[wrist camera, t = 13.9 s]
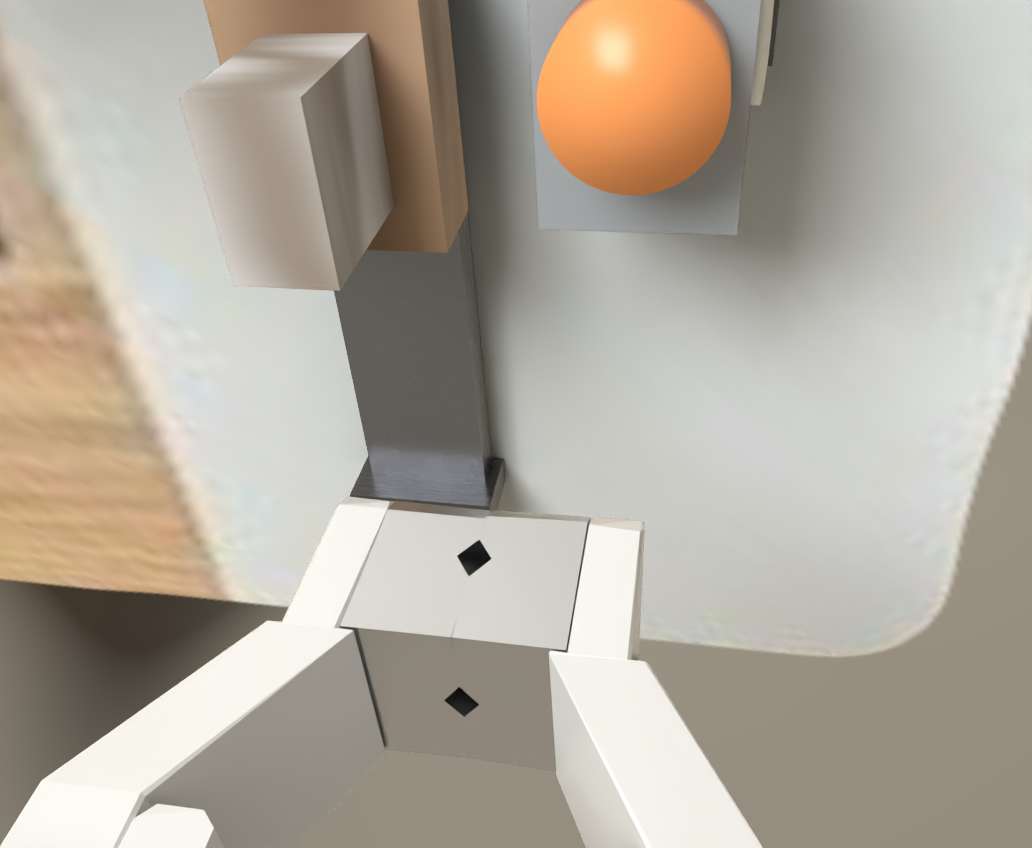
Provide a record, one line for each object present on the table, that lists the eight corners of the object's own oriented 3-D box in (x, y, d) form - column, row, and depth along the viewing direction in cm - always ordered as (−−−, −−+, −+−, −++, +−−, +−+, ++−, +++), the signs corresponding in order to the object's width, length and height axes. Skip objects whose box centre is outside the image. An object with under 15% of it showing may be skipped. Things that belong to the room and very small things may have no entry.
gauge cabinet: (577, 116, 30) (538, 229, 23) (573, -177, 25) (520, -131, 18) (754, 118, 29) (761, 236, 22) (787, -188, 24) (807, -143, 17)
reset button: (553, 158, 22) (540, 193, 20) (547, -22, 19) (532, 3, 18) (723, 160, 21) (722, 197, 20) (739, -26, 19) (739, -1, 17)
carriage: (300, 205, 31) (196, 330, 25) (243, -50, 27) (98, 29, 20) (468, 210, 30) (403, 341, 24) (442, -56, 25) (352, 27, 19)
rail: (375, 469, 41) (354, 515, 39) (244, -169, 26) (197, -155, 24) (505, 479, 40) (491, 527, 38) (446, -179, 25) (418, -166, 23)
